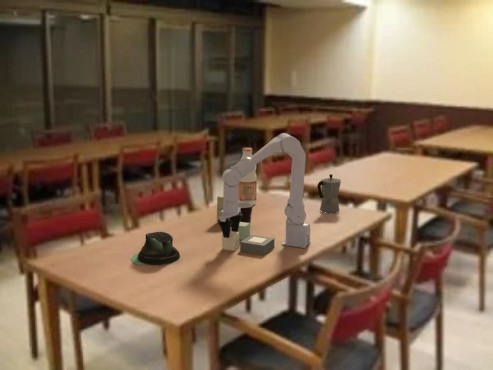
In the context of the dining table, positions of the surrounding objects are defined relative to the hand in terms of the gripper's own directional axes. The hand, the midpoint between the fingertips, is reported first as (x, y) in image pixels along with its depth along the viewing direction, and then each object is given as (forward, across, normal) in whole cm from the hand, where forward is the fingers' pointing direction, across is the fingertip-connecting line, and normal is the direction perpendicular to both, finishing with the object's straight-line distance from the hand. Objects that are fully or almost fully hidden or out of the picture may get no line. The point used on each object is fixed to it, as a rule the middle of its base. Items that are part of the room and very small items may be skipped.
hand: (230, 234), depth 227 cm
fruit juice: (+6, -64, -21) cm, 68 cm away
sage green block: (+5, -13, -1) cm, 14 cm away
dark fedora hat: (+6, +21, -20) cm, 29 cm away
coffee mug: (+6, -25, -7) cm, 27 cm away
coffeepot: (+5, -67, +20) cm, 70 cm away
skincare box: (+6, -30, -17) cm, 35 cm away
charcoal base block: (+6, -3, +10) cm, 12 cm away
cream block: (+5, 0, 0) cm, 5 cm away
